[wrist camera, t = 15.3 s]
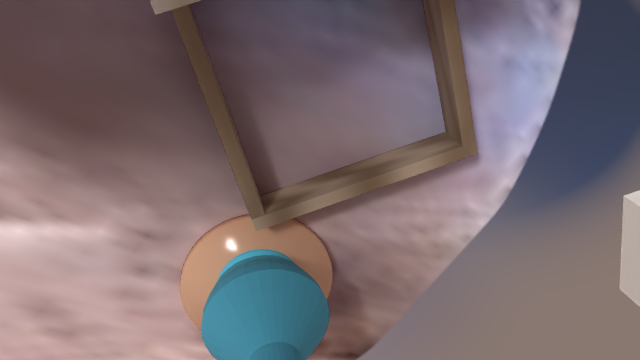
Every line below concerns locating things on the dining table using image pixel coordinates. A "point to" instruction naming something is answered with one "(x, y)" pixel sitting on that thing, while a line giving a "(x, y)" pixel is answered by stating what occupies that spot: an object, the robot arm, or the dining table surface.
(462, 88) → the frame
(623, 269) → the robot arm
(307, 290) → the perfume bottle
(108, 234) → the dining table surface
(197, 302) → the saucer
